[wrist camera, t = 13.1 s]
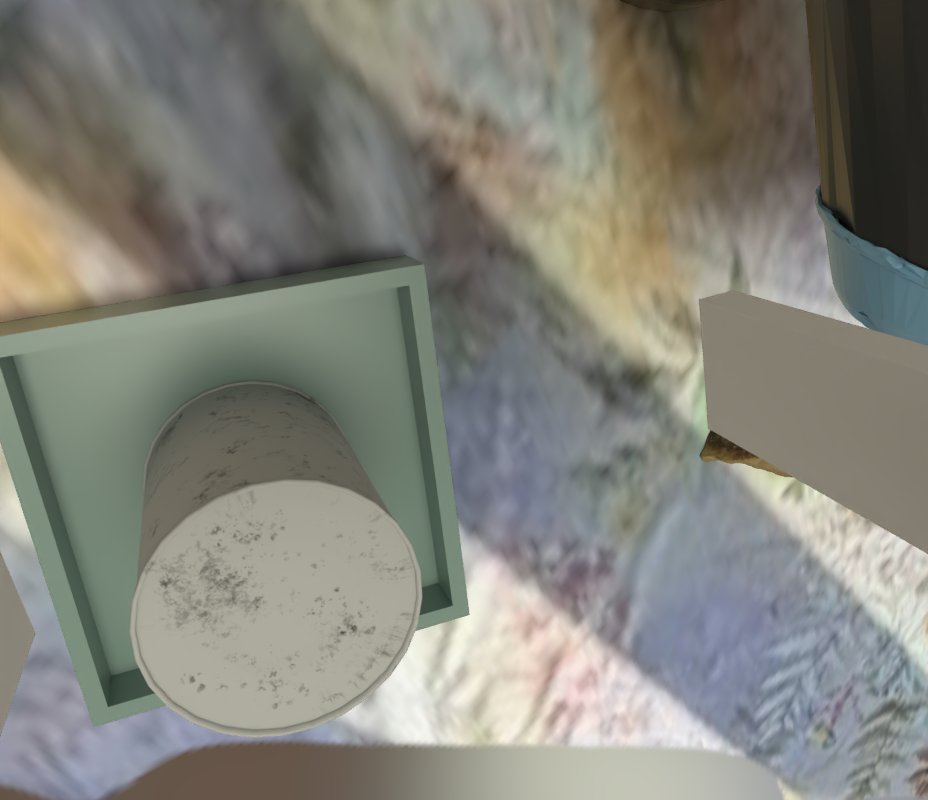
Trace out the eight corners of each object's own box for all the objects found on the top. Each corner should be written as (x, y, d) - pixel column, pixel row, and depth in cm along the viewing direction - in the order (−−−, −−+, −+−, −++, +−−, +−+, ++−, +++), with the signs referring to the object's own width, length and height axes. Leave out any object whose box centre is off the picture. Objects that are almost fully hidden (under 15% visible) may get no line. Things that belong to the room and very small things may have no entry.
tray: (405, 255, 38) (424, 264, 35) (450, 584, 44) (469, 614, 41) (-15, 325, 33) (-33, 341, 30) (99, 684, 39) (93, 727, 36)
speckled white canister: (301, 345, 37) (356, 428, 26) (383, 512, 41) (462, 647, 30) (101, 439, 35) (67, 573, 24) (205, 604, 39) (218, 786, 28)
